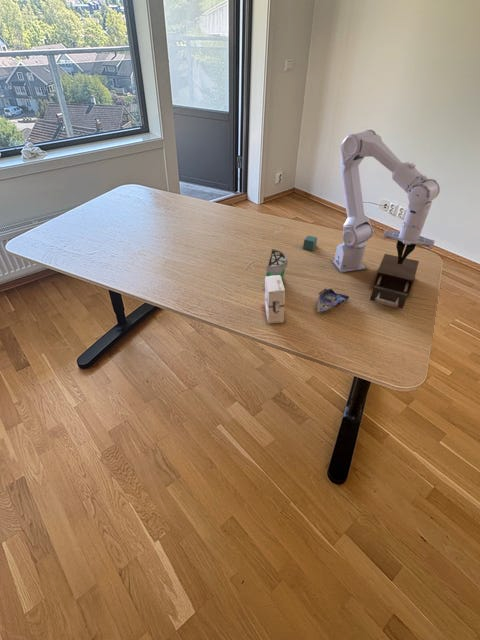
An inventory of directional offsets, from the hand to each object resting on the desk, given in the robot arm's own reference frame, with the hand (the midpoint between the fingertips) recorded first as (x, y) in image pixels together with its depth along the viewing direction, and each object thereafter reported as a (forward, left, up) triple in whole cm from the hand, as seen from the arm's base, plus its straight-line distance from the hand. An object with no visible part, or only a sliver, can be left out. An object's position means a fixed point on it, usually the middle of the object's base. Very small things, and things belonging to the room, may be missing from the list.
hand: (399, 262), depth 111 cm
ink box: (-44, -5, -10) cm, 45 cm away
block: (-18, +32, -9) cm, 37 cm away
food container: (-38, +11, -10) cm, 40 cm away
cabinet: (+1, +2, -9) cm, 10 cm away
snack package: (-25, -4, -10) cm, 27 cm away
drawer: (-6, -7, -9) cm, 12 cm away
